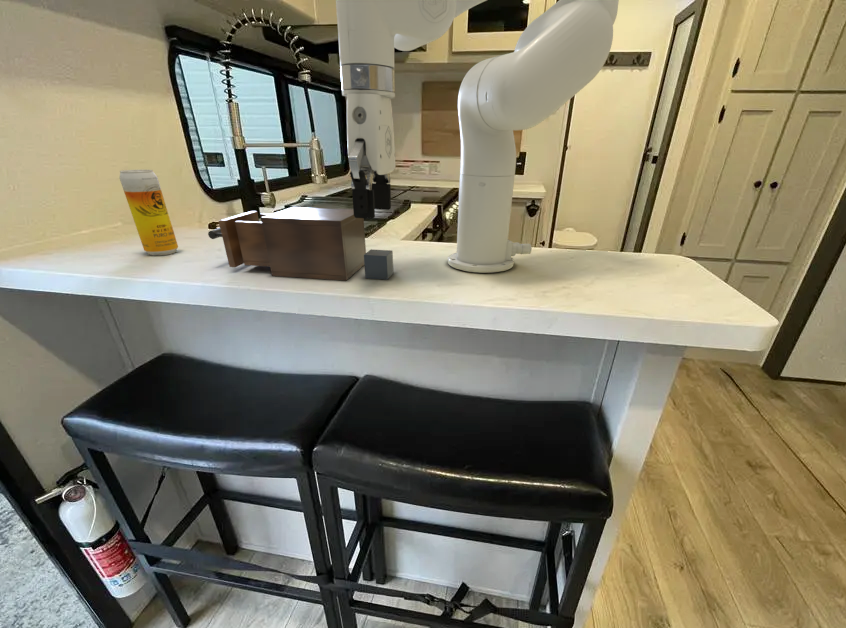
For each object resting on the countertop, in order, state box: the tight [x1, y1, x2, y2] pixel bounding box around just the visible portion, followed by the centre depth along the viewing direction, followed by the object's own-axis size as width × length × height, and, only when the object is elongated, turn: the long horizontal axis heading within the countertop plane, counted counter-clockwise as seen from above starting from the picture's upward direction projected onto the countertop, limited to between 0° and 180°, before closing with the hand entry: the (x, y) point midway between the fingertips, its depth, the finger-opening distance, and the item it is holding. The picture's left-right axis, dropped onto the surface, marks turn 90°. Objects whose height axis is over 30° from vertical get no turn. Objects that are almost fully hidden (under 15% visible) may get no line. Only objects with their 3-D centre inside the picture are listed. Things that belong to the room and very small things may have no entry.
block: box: [364, 248, 394, 281], centre depth 72 cm, size 4×4×4 cm
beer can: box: [119, 169, 179, 256], centre depth 81 cm, size 6×6×15 cm
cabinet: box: [260, 206, 367, 282], centre depth 73 cm, size 14×12×10 cm
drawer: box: [207, 210, 271, 268], centre depth 75 cm, size 17×10×8 cm, turn 80°
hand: (373, 213), depth 67 cm, fingers open, 9 cm apart
